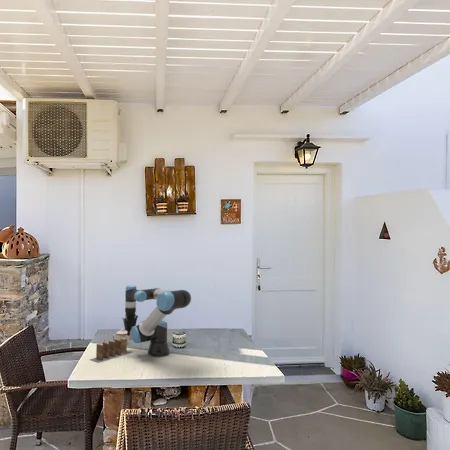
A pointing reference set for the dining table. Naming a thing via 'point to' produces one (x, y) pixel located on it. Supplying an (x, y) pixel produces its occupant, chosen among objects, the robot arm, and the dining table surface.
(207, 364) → the dining table surface
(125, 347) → the lead tile
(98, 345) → the tile
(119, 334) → the teacup with lid
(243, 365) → the dining table surface
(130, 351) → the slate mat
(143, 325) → the robot arm
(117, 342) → the tile
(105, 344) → the tile
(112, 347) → the tile
